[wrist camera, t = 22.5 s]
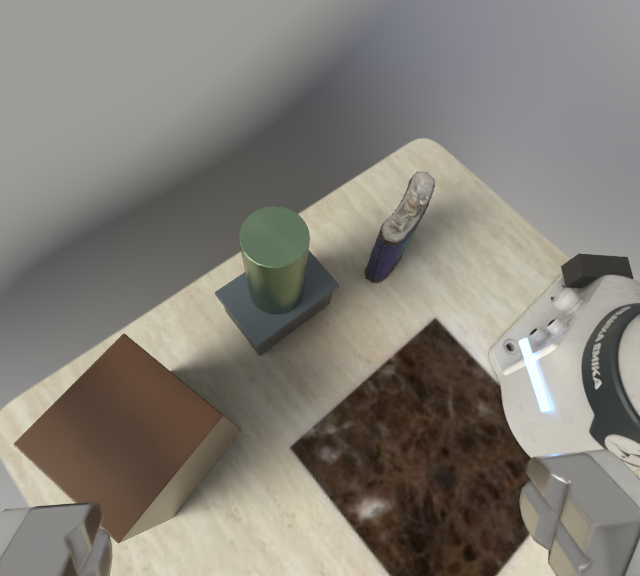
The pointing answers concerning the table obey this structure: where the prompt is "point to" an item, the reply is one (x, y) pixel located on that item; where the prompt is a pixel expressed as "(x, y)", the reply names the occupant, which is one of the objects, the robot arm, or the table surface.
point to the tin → (275, 258)
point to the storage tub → (274, 327)
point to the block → (128, 440)
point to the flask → (400, 227)
